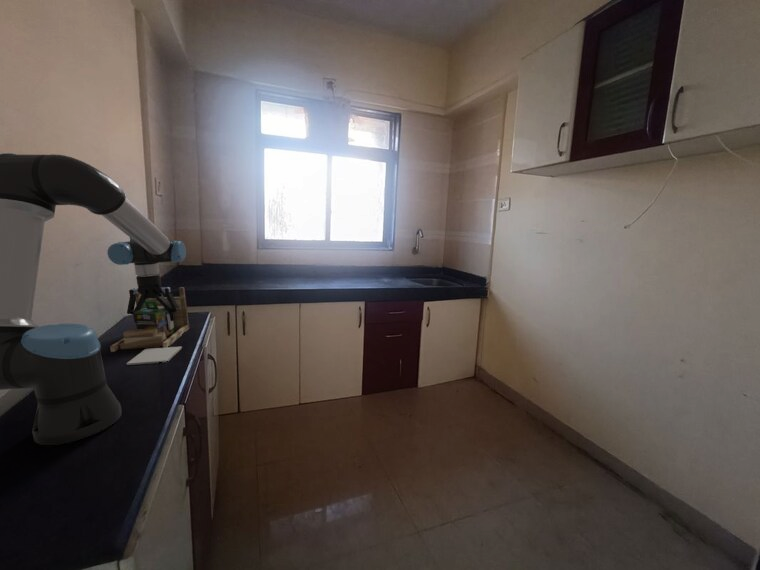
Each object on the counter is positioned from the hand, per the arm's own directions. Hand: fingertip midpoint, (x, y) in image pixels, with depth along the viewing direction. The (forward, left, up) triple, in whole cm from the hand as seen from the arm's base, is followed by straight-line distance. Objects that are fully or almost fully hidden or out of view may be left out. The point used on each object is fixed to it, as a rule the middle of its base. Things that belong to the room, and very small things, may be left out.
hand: (156, 329), depth 132 cm
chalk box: (0, 0, -3) cm, 3 cm away
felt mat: (-21, -8, -3) cm, 23 cm away
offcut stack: (-10, 0, -3) cm, 10 cm away
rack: (-3, 0, -3) cm, 4 cm away
